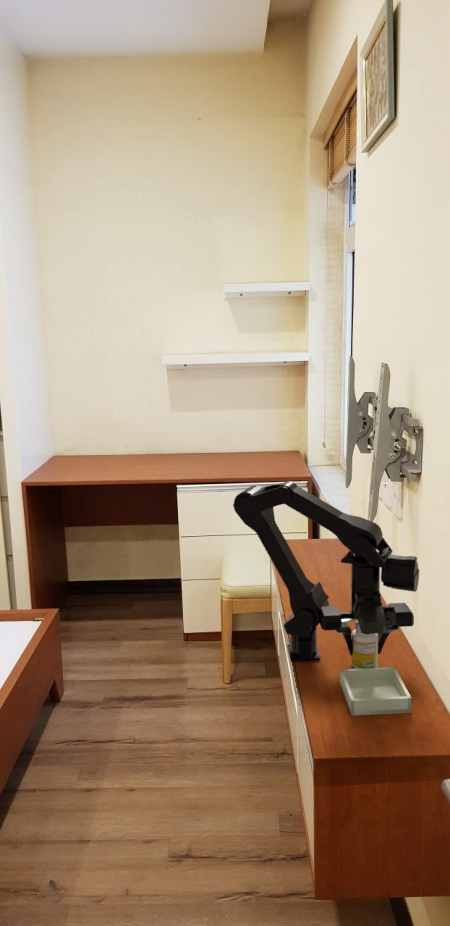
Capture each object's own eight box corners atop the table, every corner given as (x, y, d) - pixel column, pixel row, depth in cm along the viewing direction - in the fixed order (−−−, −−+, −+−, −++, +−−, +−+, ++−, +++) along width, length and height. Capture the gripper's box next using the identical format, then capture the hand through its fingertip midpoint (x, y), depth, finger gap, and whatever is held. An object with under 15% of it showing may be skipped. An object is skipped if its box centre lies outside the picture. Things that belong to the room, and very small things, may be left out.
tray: (339, 683, 132) (339, 669, 132) (394, 680, 132) (394, 666, 132) (351, 715, 122) (351, 701, 121) (411, 712, 122) (411, 698, 121)
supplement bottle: (359, 656, 142) (359, 614, 140) (382, 663, 139) (383, 620, 137) (346, 666, 138) (346, 623, 136) (370, 674, 135) (370, 630, 133)
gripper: (326, 602, 127) (326, 676, 130) (423, 598, 127) (421, 672, 130) (317, 580, 138) (317, 649, 141) (406, 576, 138) (404, 644, 141)
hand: (364, 654), depth 138 cm, fingers closed on supplement bottle, 5 cm apart
